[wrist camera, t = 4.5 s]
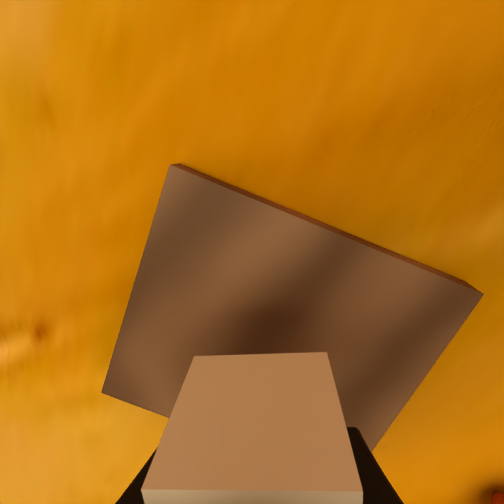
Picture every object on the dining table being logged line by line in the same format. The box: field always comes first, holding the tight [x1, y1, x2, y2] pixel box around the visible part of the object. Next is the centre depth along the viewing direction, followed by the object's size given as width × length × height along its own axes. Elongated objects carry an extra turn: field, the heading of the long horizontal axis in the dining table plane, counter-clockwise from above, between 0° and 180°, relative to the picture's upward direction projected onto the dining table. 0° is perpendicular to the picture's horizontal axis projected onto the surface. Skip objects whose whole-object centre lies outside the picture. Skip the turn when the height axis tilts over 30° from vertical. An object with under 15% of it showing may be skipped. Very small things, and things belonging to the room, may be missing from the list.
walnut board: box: [101, 164, 484, 452], centre depth 17 cm, size 16×14×2 cm
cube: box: [141, 352, 363, 504], centre depth 9 cm, size 4×4×4 cm
